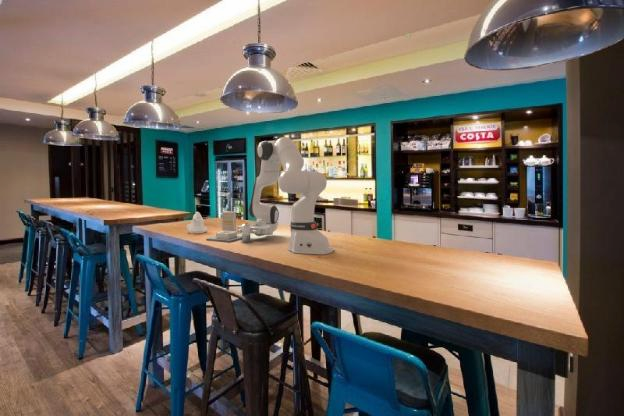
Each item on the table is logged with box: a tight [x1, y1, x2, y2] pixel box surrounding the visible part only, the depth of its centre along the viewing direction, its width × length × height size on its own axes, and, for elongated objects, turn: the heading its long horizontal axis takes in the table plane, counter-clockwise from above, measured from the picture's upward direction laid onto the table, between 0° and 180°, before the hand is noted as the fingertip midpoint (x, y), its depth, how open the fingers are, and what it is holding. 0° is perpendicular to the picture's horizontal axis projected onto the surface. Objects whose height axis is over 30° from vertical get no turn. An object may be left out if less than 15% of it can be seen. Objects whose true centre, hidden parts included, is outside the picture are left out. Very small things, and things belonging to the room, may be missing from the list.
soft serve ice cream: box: [186, 211, 208, 234], centre depth 229 cm, size 12×15×14 cm
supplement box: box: [221, 210, 237, 232], centre depth 233 cm, size 8×5×13 cm, turn 84°
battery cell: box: [241, 222, 251, 244], centre depth 194 cm, size 4×4×11 cm
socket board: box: [205, 230, 242, 243], centre depth 204 cm, size 16×16×4 cm
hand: (246, 231), depth 194 cm, fingers open, 8 cm apart
